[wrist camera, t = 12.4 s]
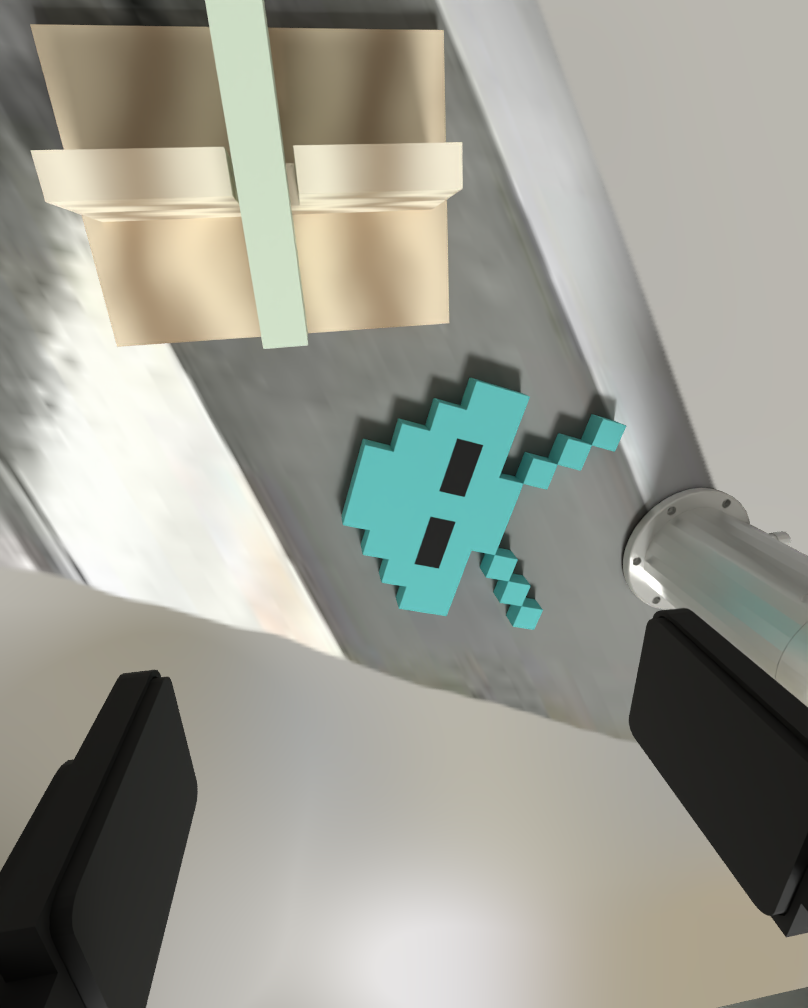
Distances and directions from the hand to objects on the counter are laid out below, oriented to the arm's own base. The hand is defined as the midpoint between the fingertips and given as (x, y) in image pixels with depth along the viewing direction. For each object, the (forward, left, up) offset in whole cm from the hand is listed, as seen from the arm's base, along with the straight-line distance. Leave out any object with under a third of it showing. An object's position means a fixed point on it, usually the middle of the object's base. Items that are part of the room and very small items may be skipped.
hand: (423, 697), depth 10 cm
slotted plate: (+3, -13, -29) cm, 32 cm away
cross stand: (+3, -13, -30) cm, 33 cm away
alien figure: (-10, +10, -31) cm, 34 cm away
